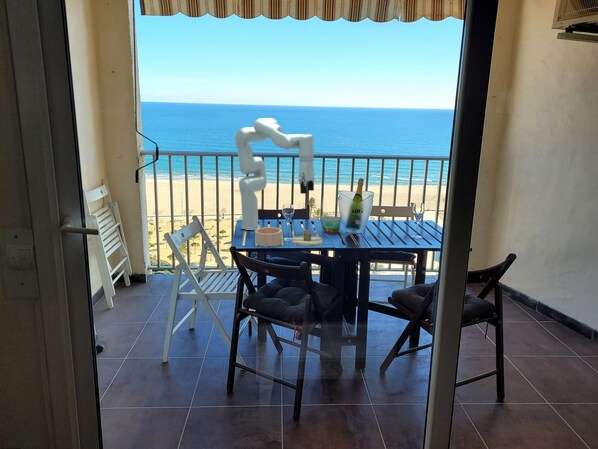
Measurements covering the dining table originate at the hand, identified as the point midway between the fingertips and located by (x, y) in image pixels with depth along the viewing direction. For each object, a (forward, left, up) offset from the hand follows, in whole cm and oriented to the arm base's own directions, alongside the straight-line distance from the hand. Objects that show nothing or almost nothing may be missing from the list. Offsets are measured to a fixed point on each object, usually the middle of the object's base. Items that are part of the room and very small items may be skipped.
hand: (307, 191), depth 231 cm
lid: (-2, 0, -28) cm, 28 cm away
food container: (-16, +16, -28) cm, 36 cm away
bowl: (-2, -21, -28) cm, 35 cm away
